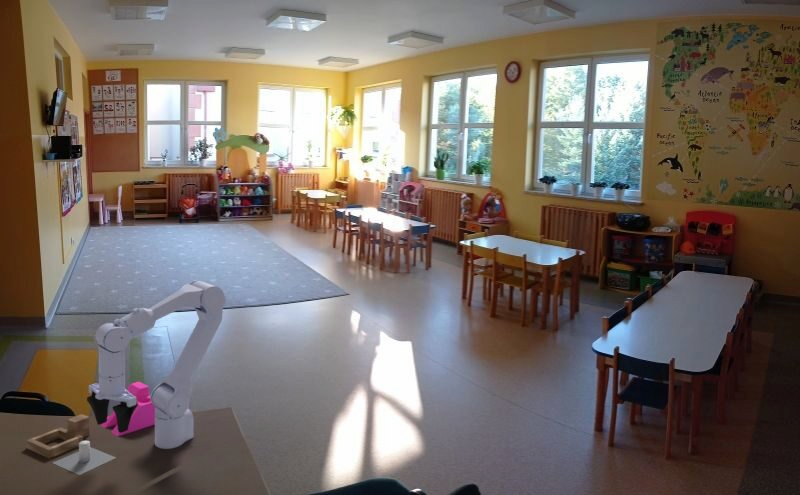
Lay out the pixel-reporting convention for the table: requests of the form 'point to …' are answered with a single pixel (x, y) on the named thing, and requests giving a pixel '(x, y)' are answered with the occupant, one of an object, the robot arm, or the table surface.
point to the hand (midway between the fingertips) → (112, 427)
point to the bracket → (136, 411)
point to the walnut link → (61, 437)
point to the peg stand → (84, 459)
